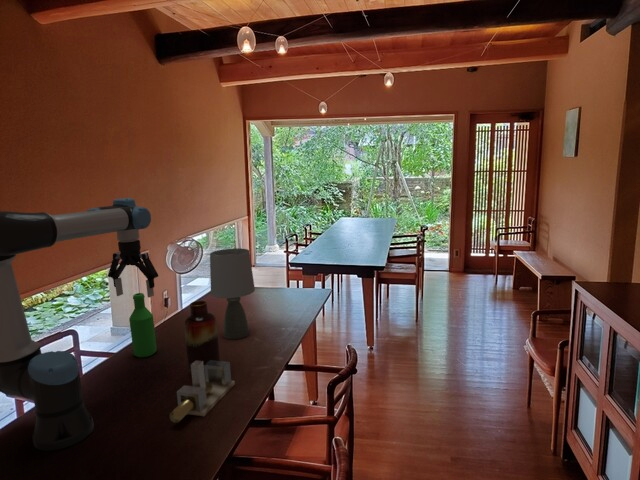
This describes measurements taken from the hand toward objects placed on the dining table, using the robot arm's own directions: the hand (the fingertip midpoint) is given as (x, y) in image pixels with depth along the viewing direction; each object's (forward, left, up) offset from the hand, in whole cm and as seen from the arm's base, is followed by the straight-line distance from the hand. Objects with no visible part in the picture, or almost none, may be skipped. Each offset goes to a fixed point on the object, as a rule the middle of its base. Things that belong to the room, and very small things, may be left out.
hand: (135, 295), depth 171 cm
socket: (-11, -39, -25) cm, 48 cm away
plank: (-19, -39, -27) cm, 51 cm away
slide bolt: (-27, -39, -25) cm, 54 cm away
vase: (-3, -29, -27) cm, 40 cm away
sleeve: (-27, -39, -25) cm, 54 cm away
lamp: (+32, -24, -27) cm, 48 cm away
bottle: (+7, +4, -27) cm, 28 cm away
